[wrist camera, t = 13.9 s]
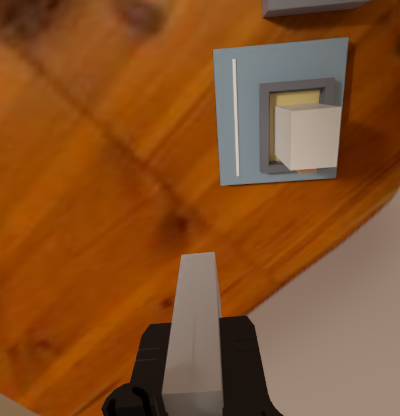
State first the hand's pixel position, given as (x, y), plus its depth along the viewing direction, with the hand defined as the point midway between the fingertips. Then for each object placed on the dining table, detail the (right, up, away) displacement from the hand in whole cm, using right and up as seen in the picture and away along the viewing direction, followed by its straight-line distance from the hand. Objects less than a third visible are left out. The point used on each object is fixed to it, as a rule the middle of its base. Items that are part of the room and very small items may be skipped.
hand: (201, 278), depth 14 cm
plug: (+10, +12, +18) cm, 24 cm away
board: (+8, +13, +19) cm, 25 cm away
